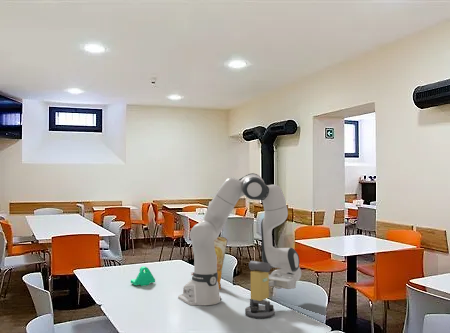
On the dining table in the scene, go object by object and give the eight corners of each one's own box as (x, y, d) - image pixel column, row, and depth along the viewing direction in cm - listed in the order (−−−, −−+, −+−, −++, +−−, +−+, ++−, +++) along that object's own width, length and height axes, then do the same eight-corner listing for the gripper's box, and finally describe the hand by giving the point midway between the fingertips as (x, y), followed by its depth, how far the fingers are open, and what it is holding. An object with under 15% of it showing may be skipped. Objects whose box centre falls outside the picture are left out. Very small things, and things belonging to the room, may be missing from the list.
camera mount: (149, 281, 249) (149, 263, 249) (155, 284, 243) (155, 266, 243) (130, 284, 242) (130, 266, 243) (135, 287, 236) (135, 268, 236)
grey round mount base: (239, 314, 188) (239, 301, 188) (255, 307, 198) (255, 294, 198) (264, 320, 180) (264, 306, 180) (280, 313, 190) (280, 299, 190)
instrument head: (247, 303, 189) (246, 262, 189) (255, 300, 194) (255, 259, 195) (264, 307, 183) (263, 264, 184) (272, 303, 189) (272, 261, 189)
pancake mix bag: (209, 282, 247) (209, 233, 248) (228, 289, 232) (228, 237, 232) (199, 283, 244) (200, 234, 244) (218, 290, 228) (218, 238, 229)
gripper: (261, 269, 209) (245, 274, 198) (298, 274, 197) (283, 280, 186) (261, 282, 209) (245, 287, 198) (298, 288, 197) (283, 294, 186)
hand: (264, 284), depth 192 cm, fingers closed, pressing on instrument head
